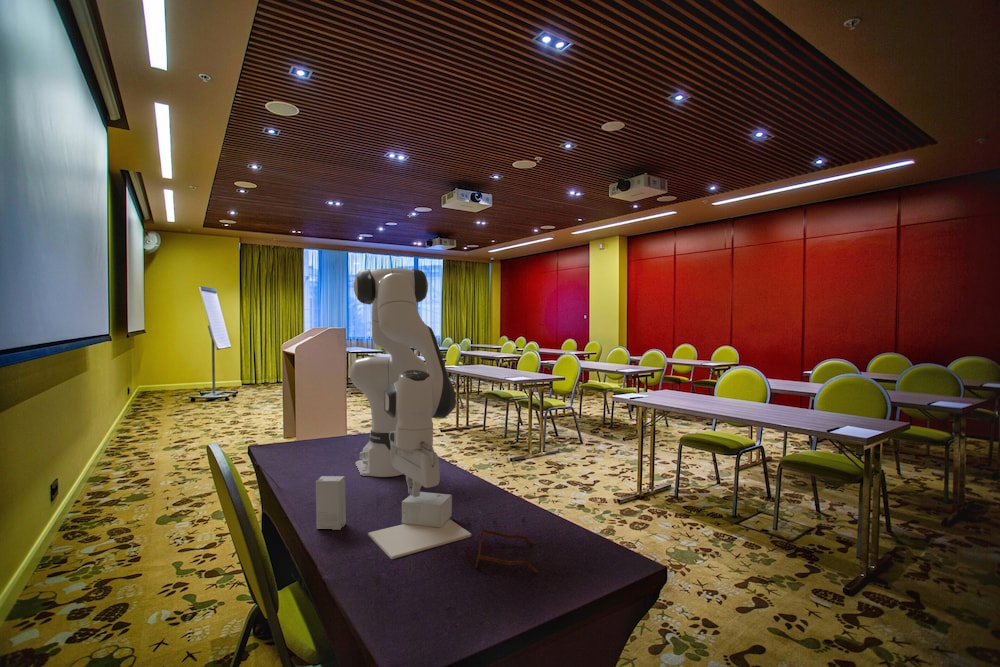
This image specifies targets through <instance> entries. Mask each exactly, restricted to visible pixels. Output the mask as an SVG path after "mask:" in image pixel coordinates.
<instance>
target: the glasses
mask: <svg viewBox="0 0 1000 667" xmlns="http://www.w3.org/2000/svg"><path fill="white" fill-rule="evenodd" d="M484 533H485V534H489V535H493V536H494V535H495V536H498V537H503V538H507V539H516V538H517V539H524V541H526V542H528V543H529V544H530V545H532V544H536V543H535V542H534V541H532V540H531V539H530V537H529V538H528V536H526V535H522V534H508V533H503V532H499V531H494V530H489V529H487V528H486V529H485V526H483V525H482V527H481V532H480V537H479V541H478V547H477V549H478V551H477V555H476V560H475V566H474V568H475V569H477V568H478V566H479V562H480V560H485V561H490V562H494V563H498V564H503V565H506V566H513V565H525V566H526V567H528V569H530V571H532V572H533V571H538V570H537V568H535V567H534V566H533V565H532V564H531V563H530V562H528V561H524V560H513V561H512V560H510V561H509V560H506V559H500V558H495V557H491V556H487V555H482V554H481V552H482V547H483V545H482V544H483V535H484Z"/></svg>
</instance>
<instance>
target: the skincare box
mask: <svg viewBox="0 0 1000 667" xmlns="http://www.w3.org/2000/svg"><path fill="white" fill-rule="evenodd" d="M346 507H347V506H346V476H344V475H343V476H341V475H338V476H337V475H335V476H334V475H328V476H327V475H321V476H320V477H319V478H318V479H317V480H316V481H315V516H316V519H315V520H316V521H315V522H316V530H317V529H332V531H335V530H336V531H337V530H338V531H341V530H342V529H343V528H344V526H345V525H346V524H347V521H346V520H347V518H346V517H347V516H346V515H347V511H346V509H347V508H346ZM342 527H343V528H342ZM341 528H342V529H341Z"/></svg>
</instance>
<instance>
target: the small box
mask: <svg viewBox="0 0 1000 667" xmlns="http://www.w3.org/2000/svg"><path fill="white" fill-rule="evenodd" d="M452 504H453V495H452V494H449V493H447V494H446V493H438V492H436V493H435V492H426V491H420V496H419V497H413V496H412V495H410V494H409V495H408V496H407V497H406V498H404V500H402V501H401V524H412V525H421V526H429V527H438V528H441V527H442V526H443V524H444V523H445V522H446V521H447V520H448V519H450V518H451V517H452V515H453V514H452V513H453V505H452Z"/></svg>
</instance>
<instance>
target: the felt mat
mask: <svg viewBox="0 0 1000 667" xmlns="http://www.w3.org/2000/svg"><path fill="white" fill-rule="evenodd" d="M367 536H368V537H369V538H370V539H371V541H373V542H374V543H375V544H376V545H377V546H378V547H379V548H380V549H381V550H382V551H383V552H384V554H386V555H387V557H388V558H389V559H390V560H394V559H398V558H401V557H406V556H408V555H411V554H415V553H419V552H422V551H423V552H424V551H425V550H430V549H433V548H435V547H440V546H444V545H446V544H447V545H448V544H450V543H454V542H457V541H461V540H464V539H468V538H471V537H472V533H471V532H470V531H468V530H467V529H465V528H463V527H462V526H460V525H459V524H458V523H456V522H455V521H453V520H452V519H450V518H449V519H448V520H447V521H446V522H445V523H444V524H443V526H442V527H441V528H438V527H429V526H421V525H412V524H404V523H401V524H398V525H394V526H391V527H386V528H381V529H377V530H374V531H370V532H367Z"/></svg>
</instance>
